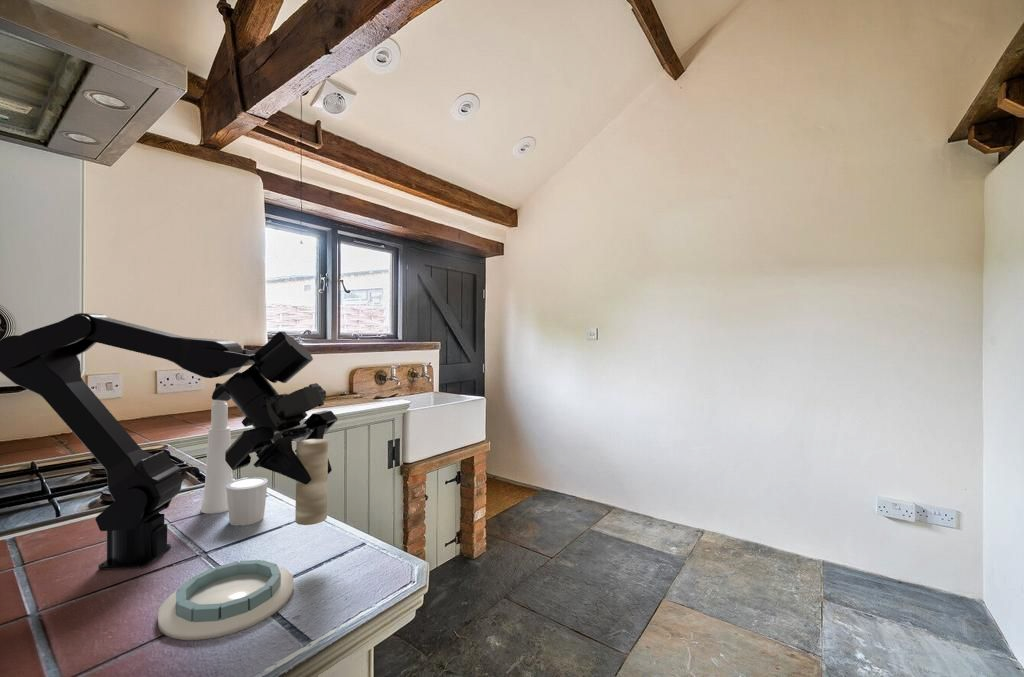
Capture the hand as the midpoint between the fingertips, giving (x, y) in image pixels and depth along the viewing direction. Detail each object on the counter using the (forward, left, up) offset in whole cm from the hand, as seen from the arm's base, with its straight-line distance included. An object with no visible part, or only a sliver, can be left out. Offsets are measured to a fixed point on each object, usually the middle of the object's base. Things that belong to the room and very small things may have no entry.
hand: (319, 477), depth 69 cm
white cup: (-18, +17, -13) cm, 29 cm away
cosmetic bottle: (-26, +23, -13) cm, 38 cm away
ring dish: (-8, -10, -13) cm, 18 cm away
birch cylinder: (-1, 0, -7) cm, 7 cm away
